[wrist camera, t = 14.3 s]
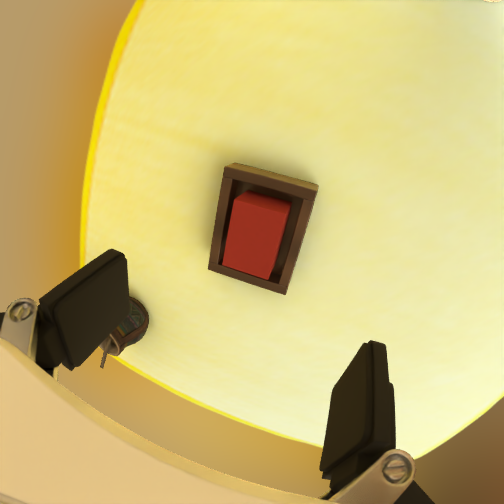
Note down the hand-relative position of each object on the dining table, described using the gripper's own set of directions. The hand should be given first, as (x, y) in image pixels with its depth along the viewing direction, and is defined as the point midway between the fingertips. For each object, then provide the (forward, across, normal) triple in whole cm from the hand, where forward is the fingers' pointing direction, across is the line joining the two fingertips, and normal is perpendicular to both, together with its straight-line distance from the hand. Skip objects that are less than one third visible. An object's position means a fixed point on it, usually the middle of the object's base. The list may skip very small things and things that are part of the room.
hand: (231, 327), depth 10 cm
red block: (+19, +3, +4) cm, 19 cm away
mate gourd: (+19, +19, +23) cm, 35 cm away
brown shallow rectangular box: (+19, +3, +4) cm, 20 cm away
